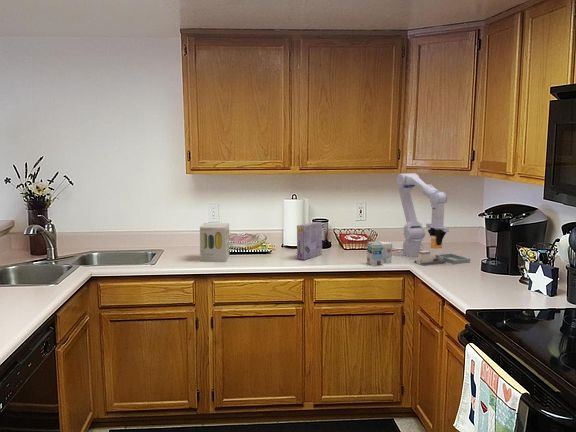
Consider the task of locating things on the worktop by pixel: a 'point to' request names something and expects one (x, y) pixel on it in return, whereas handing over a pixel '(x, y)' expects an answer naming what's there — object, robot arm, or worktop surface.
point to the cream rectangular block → (424, 256)
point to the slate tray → (447, 256)
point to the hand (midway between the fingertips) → (436, 244)
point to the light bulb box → (379, 253)
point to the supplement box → (214, 242)
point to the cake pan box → (309, 240)
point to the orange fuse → (434, 242)
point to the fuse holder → (431, 261)
